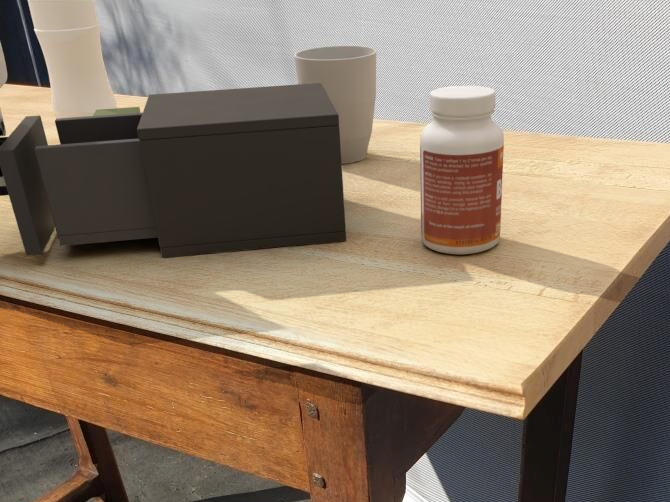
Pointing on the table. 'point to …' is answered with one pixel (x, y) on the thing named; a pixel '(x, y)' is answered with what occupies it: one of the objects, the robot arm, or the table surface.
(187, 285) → the table surface
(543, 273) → the table surface
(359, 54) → the cup
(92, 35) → the water bottle
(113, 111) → the block
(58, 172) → the grey drawer with handle
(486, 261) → the table surface
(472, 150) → the pill bottle
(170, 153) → the dark grey box
